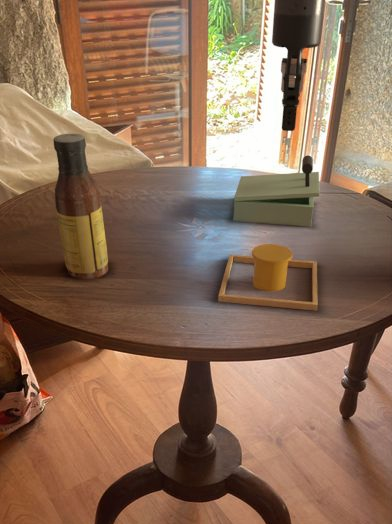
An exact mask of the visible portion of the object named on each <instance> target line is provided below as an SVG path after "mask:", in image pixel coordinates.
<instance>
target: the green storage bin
mask: <svg viewBox="0 0 392 524" xmlns="http://www.w3.org/2000/svg"><path fill="white" fill-rule="evenodd" d="M314 198H315V197H304V198H284V199H265V200H245V201H233V216H232V217H233V218H232V221H233V222H242V223H243V222H245V223H256V224H270V225H281V226H283V225H284V226H293V227H295V226H297V227H307V228H308V227H312V220H313V214H314V203H315V201H314Z"/></svg>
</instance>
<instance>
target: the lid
mask: <svg viewBox="0 0 392 524" xmlns="http://www.w3.org/2000/svg"><path fill="white" fill-rule="evenodd" d="M301 162H302V164H301V171H302V172H291V173H275V174H274V173H273V174H259V175H258V174H256V175H242V176H240V178H239V181H238V184H237V188H236V191H235V194H234V196H233V198H234V201H245V200H265V199H284V198H304V197H313V198H319V197H320V172H319V171H313V170H314V159H313V157H312V156H311V155H305V156H304V157H303V158H302V160H301ZM234 201H233V202H234Z"/></svg>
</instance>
